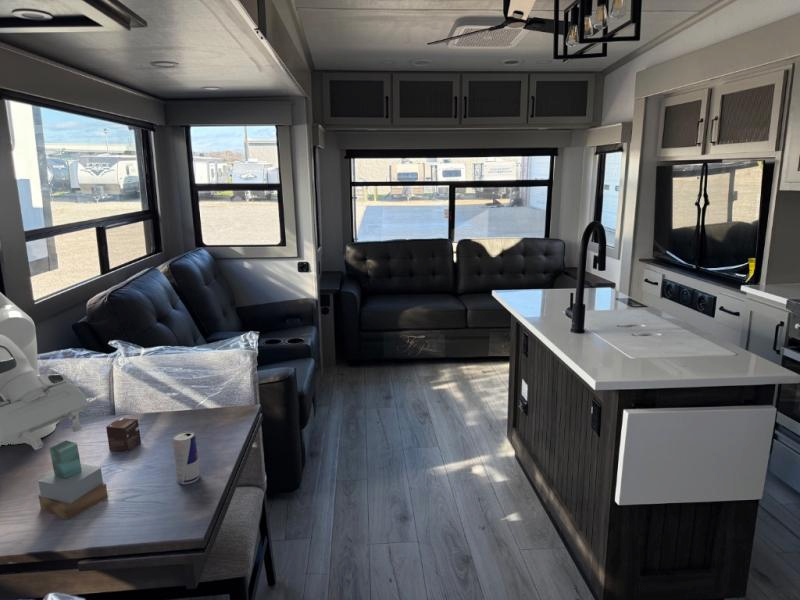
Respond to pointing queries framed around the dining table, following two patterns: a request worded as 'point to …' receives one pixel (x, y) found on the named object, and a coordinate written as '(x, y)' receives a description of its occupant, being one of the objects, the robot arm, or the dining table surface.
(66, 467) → the block
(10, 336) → the robot arm
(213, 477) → the dining table surface
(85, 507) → the tower base
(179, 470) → the energy drink
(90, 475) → the tower top
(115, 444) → the box
